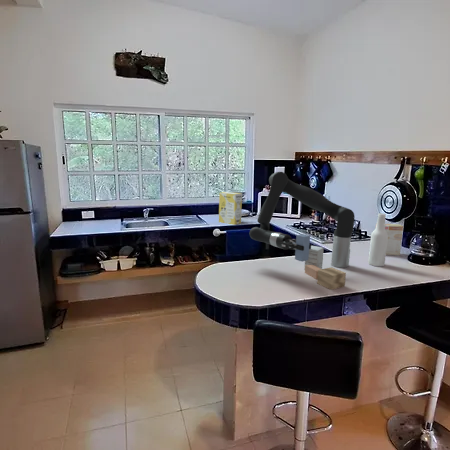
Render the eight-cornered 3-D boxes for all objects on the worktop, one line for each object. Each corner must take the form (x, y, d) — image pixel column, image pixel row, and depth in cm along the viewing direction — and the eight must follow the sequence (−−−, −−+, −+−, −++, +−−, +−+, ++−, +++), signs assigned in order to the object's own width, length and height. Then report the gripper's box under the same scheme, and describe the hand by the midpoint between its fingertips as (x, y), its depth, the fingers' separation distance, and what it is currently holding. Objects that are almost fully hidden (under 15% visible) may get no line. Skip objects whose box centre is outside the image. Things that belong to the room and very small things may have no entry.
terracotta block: (304, 273, 176) (305, 265, 175) (311, 272, 178) (312, 264, 177) (315, 279, 167) (316, 271, 166) (323, 278, 169) (324, 270, 168)
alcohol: (375, 261, 200) (381, 212, 194) (387, 266, 192) (394, 214, 186) (364, 263, 197) (370, 212, 191) (376, 267, 189) (382, 215, 183)
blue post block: (301, 257, 164) (302, 234, 162) (308, 260, 160) (310, 235, 158) (294, 259, 161) (296, 235, 159) (302, 261, 158) (303, 236, 155)
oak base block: (329, 280, 166) (331, 267, 165) (344, 286, 158) (346, 272, 157) (316, 283, 162) (318, 269, 160) (331, 290, 154) (332, 275, 153)
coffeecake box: (395, 252, 222) (399, 224, 218) (400, 255, 215) (404, 226, 211) (372, 251, 223) (375, 223, 219) (376, 254, 216) (379, 225, 212)
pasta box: (241, 223, 312) (242, 193, 306) (234, 224, 303) (235, 194, 298) (225, 220, 322) (226, 191, 317) (218, 222, 314) (219, 192, 309)
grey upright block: (309, 267, 186) (311, 245, 184) (322, 270, 182) (324, 247, 179) (303, 270, 181) (305, 247, 178) (316, 273, 176) (318, 250, 174)
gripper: (271, 235, 166) (297, 242, 153) (290, 231, 174) (317, 238, 161) (270, 249, 167) (296, 257, 154) (289, 245, 176) (316, 253, 162)
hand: (307, 247), depth 158 cm, fingers closed on blue post block, 4 cm apart
